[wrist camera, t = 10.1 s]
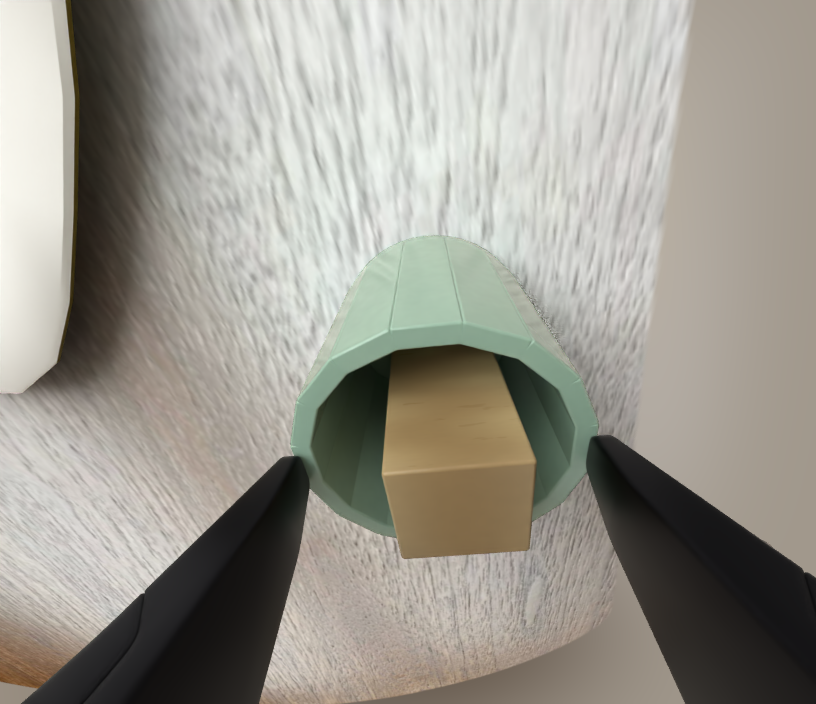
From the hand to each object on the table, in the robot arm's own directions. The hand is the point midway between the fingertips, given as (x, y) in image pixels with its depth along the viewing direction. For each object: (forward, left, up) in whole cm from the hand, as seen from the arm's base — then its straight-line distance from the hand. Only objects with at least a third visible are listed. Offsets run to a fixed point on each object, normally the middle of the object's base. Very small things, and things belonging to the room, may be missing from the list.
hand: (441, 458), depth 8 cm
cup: (0, 0, -7) cm, 7 cm away
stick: (0, 0, -6) cm, 7 cm away
